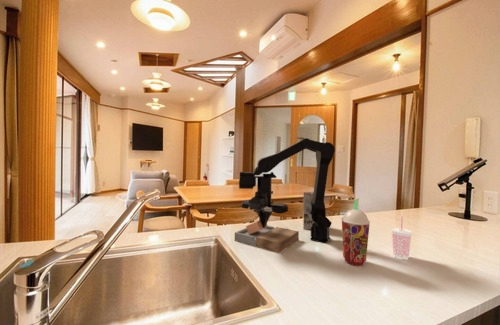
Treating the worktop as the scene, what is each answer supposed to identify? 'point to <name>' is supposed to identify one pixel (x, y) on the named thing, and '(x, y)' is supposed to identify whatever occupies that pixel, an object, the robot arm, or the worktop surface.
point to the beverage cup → (401, 242)
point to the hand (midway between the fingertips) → (263, 227)
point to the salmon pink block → (255, 227)
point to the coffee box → (306, 219)
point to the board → (277, 239)
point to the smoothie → (355, 236)
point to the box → (250, 235)
